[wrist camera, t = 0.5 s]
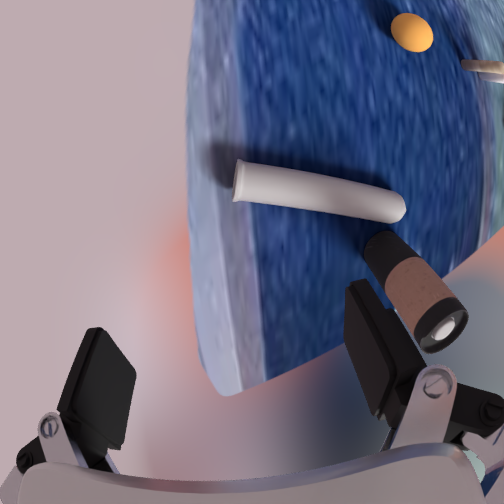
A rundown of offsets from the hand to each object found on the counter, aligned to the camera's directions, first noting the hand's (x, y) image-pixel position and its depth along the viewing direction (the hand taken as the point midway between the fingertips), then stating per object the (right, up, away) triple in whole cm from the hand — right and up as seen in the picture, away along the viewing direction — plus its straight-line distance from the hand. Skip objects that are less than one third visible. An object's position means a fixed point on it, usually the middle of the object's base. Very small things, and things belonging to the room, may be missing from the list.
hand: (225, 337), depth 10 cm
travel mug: (+23, +4, +33) cm, 41 cm away
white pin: (+41, +34, +17) cm, 56 cm away
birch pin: (+36, +34, +17) cm, 52 cm away
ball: (+22, +32, +13) cm, 41 cm away
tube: (+11, +12, +28) cm, 32 cm away
